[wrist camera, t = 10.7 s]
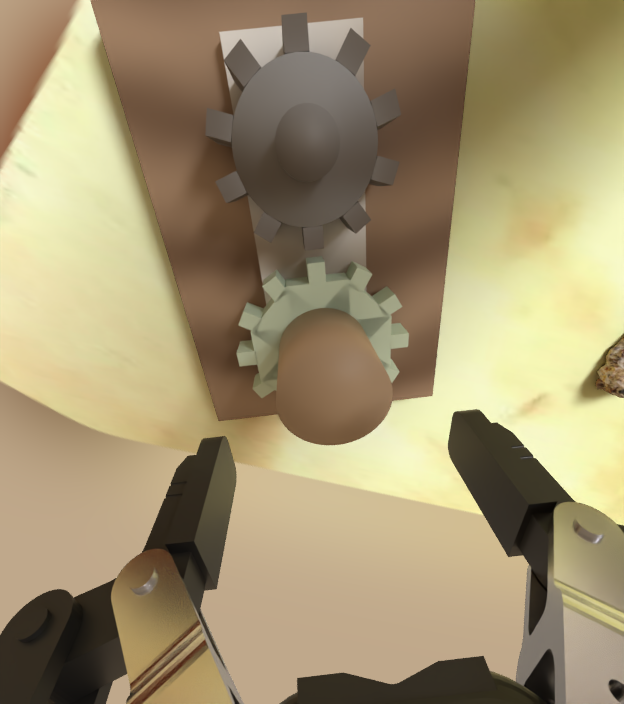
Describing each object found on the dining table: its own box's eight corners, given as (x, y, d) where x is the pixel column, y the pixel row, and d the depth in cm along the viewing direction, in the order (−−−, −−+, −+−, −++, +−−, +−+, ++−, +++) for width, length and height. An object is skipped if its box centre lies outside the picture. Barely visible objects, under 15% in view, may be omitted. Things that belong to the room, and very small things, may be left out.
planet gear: (223, 267, 17) (189, 305, 11) (403, 246, 17) (462, 274, 11) (256, 410, 22) (244, 491, 16) (397, 394, 22) (436, 467, 16)
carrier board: (109, 18, 14) (-7, -94, 8) (461, -16, 14) (570, -147, 9) (222, 408, 24) (203, 471, 19) (424, 384, 24) (463, 439, 19)
